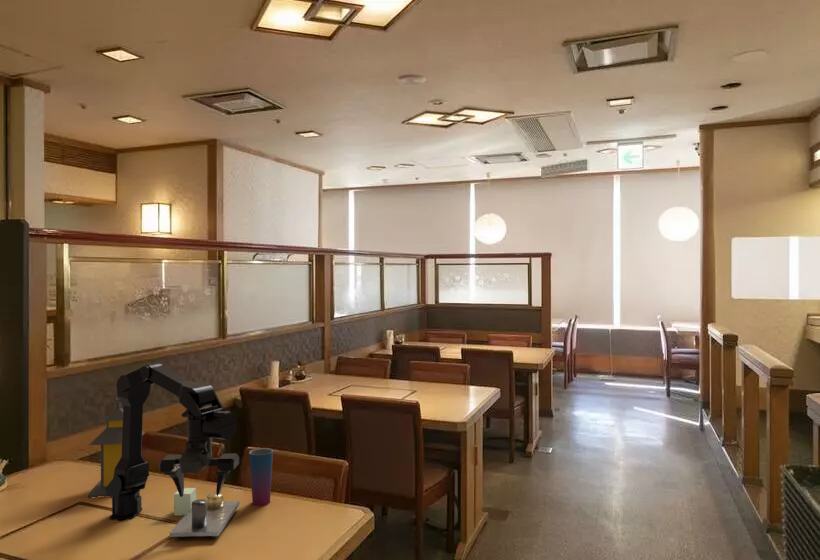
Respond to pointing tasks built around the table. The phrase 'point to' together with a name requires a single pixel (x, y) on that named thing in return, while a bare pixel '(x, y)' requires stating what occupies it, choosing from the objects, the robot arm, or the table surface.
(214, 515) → the grey flat plate
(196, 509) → the black peg
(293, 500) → the table surface
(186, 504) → the green block
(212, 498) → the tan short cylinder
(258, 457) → the cup
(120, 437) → the lantern
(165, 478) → the table surface
